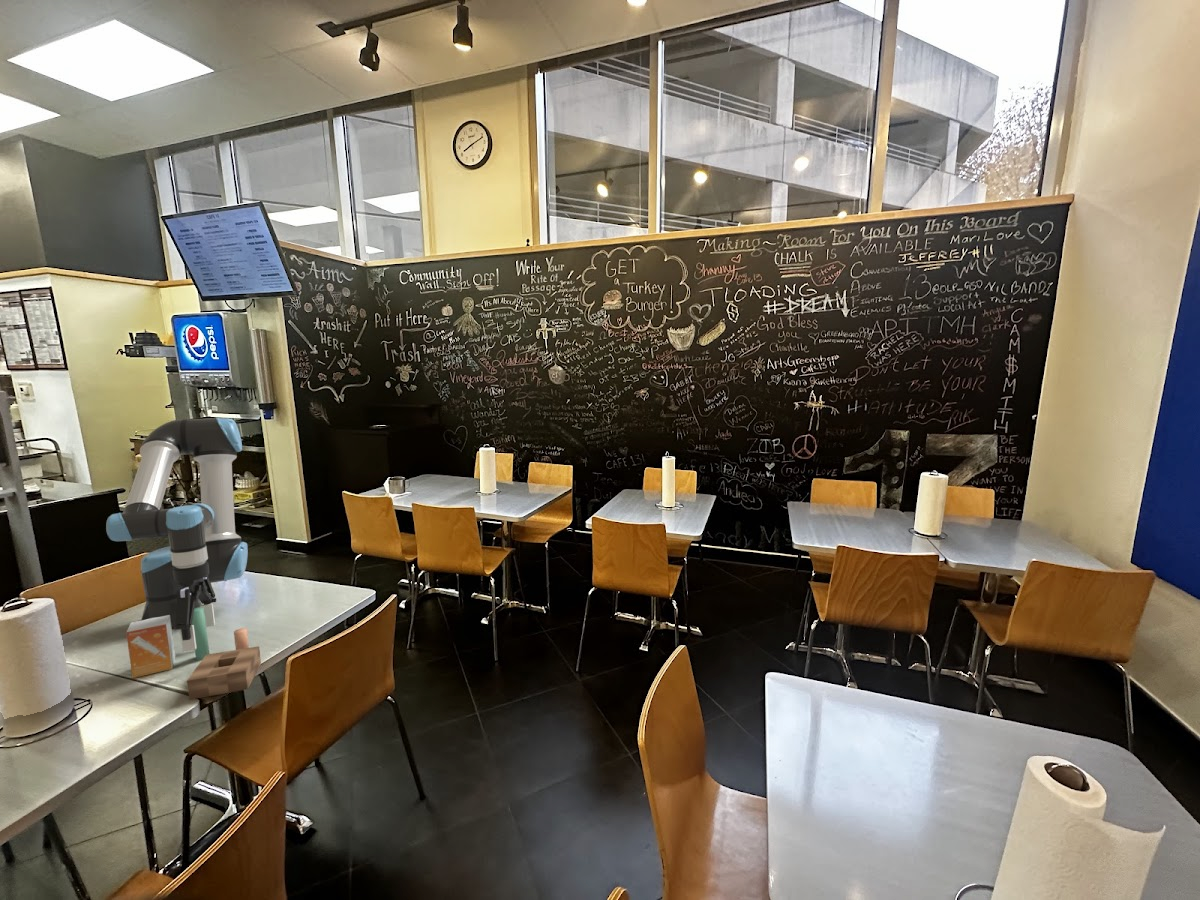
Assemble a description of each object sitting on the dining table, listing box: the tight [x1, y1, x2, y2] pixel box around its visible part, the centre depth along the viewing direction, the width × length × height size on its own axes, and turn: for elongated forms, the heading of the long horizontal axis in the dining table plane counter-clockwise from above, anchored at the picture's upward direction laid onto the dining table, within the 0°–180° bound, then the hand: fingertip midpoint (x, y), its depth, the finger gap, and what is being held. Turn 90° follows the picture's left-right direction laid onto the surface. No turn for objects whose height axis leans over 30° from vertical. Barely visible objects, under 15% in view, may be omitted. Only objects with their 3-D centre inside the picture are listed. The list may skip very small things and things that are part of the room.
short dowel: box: [233, 627, 250, 650], centre depth 142 cm, size 3×3×7 cm
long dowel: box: [192, 607, 210, 661], centre depth 140 cm, size 3×3×14 cm
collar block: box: [186, 646, 262, 700], centre depth 130 cm, size 12×12×5 cm
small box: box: [125, 615, 176, 679], centre depth 135 cm, size 8×6×13 cm
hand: (199, 637), depth 140 cm, fingers open, 13 cm apart
